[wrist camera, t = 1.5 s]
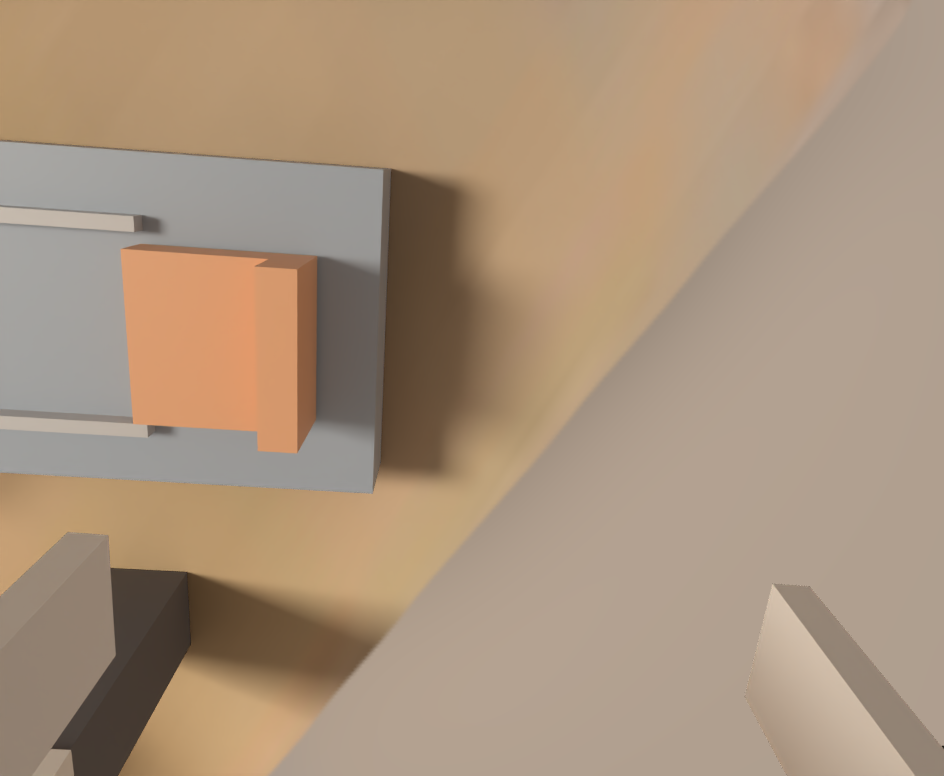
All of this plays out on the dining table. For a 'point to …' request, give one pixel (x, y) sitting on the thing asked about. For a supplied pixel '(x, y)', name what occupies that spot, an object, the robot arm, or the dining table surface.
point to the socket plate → (103, 311)
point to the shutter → (222, 340)
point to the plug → (127, 674)
